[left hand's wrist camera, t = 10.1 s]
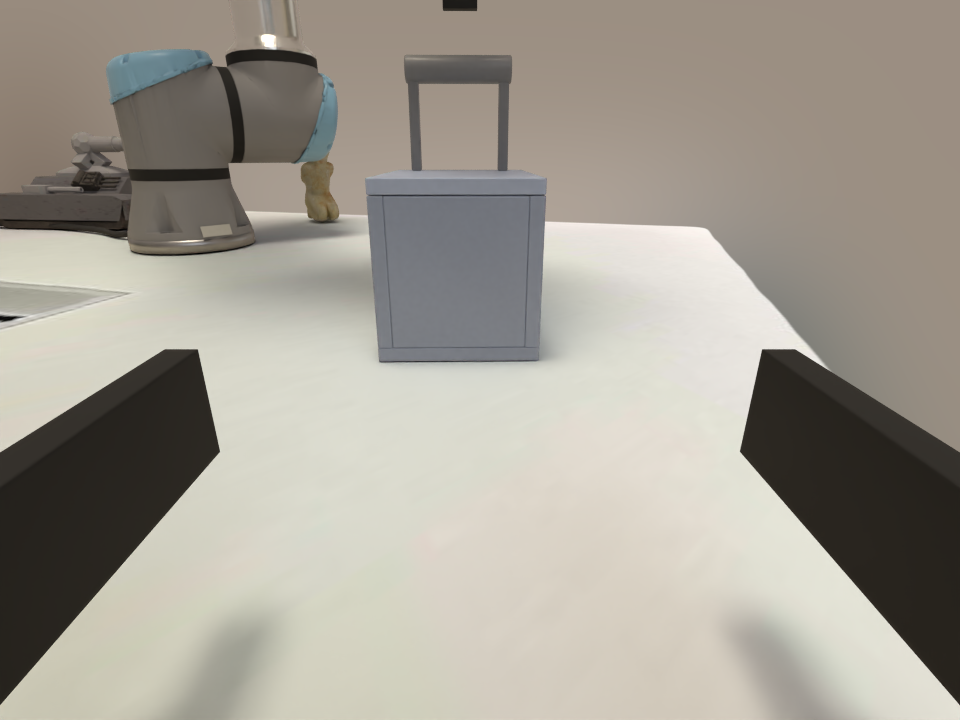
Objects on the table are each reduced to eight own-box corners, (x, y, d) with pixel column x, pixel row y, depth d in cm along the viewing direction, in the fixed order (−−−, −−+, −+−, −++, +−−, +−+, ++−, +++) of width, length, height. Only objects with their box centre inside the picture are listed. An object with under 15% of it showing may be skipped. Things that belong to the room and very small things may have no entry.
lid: (399, 181, 42) (392, 60, 38) (521, 181, 42) (524, 60, 39) (366, 195, 28) (351, 10, 25) (546, 194, 28) (554, 11, 25)
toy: (-9, 227, 87) (-43, 129, 81) (89, 214, 105) (67, 134, 99) (129, 230, 84) (104, 129, 78) (205, 216, 102) (189, 133, 97)
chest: (404, 301, 45) (398, 182, 41) (518, 301, 45) (522, 182, 41) (379, 361, 32) (366, 196, 28) (538, 360, 32) (546, 195, 28)
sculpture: (313, 223, 92) (302, 131, 86) (301, 219, 97) (290, 132, 92) (345, 221, 95) (336, 132, 89) (331, 217, 101) (322, 133, 95)
